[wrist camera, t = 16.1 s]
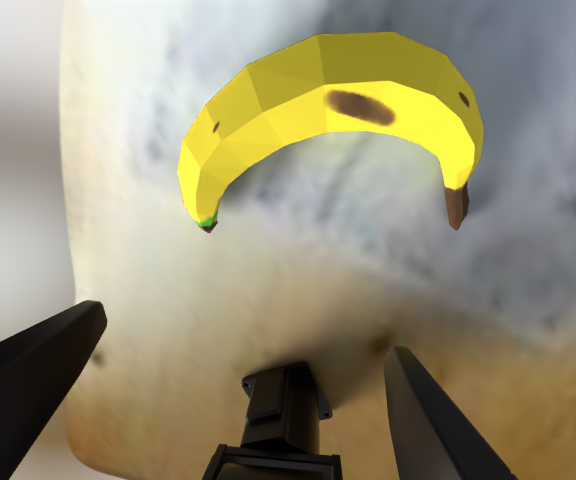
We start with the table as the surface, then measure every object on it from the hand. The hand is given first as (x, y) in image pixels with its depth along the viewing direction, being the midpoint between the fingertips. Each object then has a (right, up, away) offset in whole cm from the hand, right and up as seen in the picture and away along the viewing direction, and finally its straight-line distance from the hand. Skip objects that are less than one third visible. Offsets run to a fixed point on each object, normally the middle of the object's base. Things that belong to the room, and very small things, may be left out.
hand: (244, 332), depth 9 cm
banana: (+4, +7, +10) cm, 13 cm away
